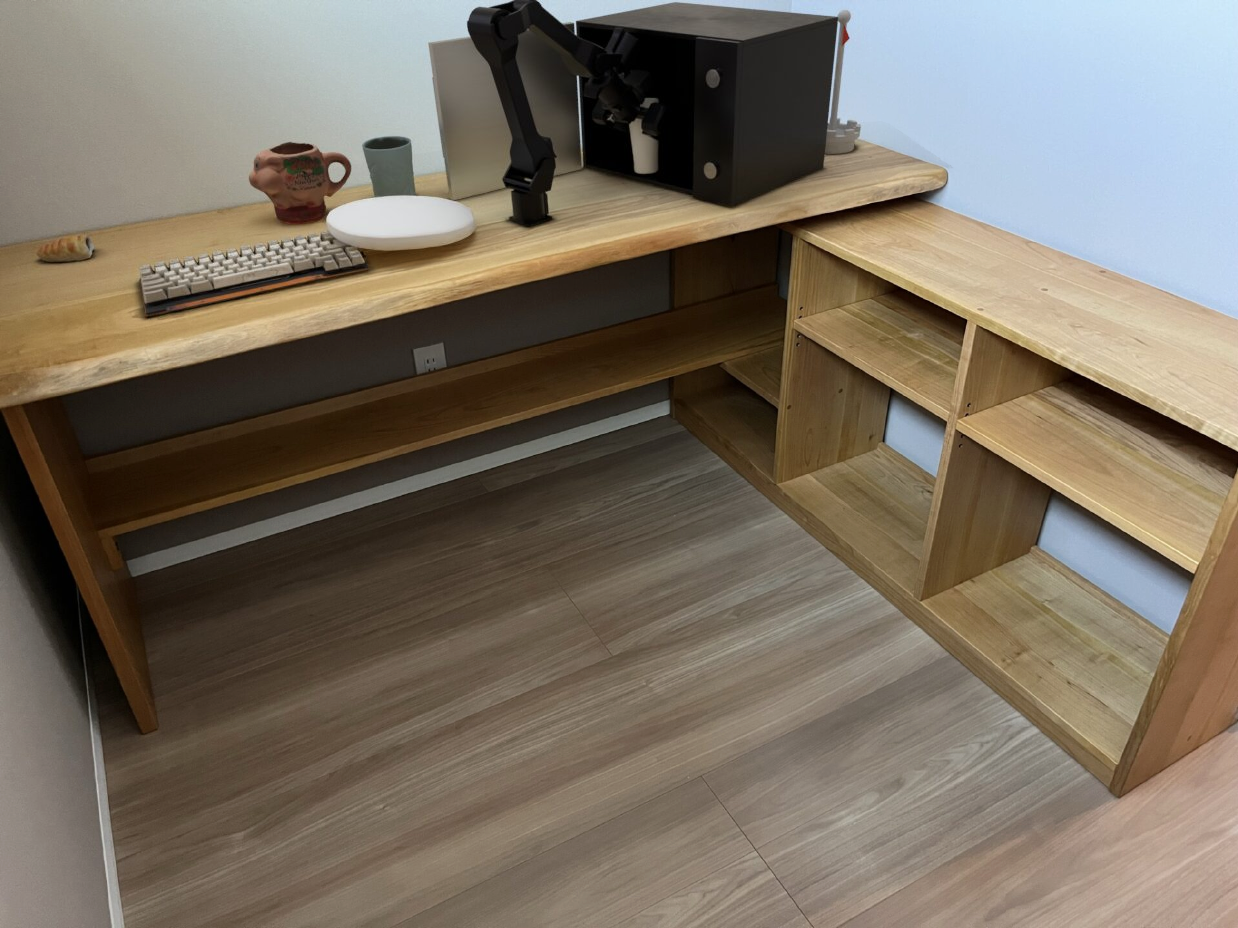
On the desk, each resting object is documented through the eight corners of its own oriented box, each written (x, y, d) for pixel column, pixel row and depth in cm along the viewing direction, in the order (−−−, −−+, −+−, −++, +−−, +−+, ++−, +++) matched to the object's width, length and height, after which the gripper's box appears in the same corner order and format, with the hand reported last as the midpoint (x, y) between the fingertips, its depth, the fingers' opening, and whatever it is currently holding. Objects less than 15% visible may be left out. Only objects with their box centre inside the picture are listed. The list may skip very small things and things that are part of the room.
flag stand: (796, 142, 220) (807, 7, 204) (848, 139, 221) (863, 4, 205) (811, 156, 210) (824, 15, 193) (865, 153, 211) (883, 12, 194)
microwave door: (437, 193, 195) (415, 39, 177) (564, 163, 211) (556, 19, 194) (453, 200, 190) (431, 43, 173) (581, 169, 206) (574, 23, 189)
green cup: (404, 189, 198) (395, 133, 191) (429, 199, 192) (420, 141, 185) (363, 200, 193) (352, 143, 186) (387, 210, 186) (377, 151, 180)
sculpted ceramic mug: (351, 199, 193) (338, 133, 185) (365, 215, 184) (352, 146, 176) (256, 216, 186) (238, 147, 178) (265, 233, 177) (247, 162, 169)
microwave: (728, 209, 181) (735, 42, 163) (575, 170, 206) (567, 22, 189) (823, 168, 202) (838, 17, 184) (674, 138, 227) (675, 2, 210)
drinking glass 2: (634, 170, 201) (630, 98, 194) (664, 169, 200) (661, 97, 193) (628, 175, 195) (624, 102, 188) (658, 174, 194) (656, 100, 187)
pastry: (36, 266, 165) (28, 247, 163) (43, 254, 171) (36, 235, 169) (92, 259, 168) (84, 239, 166) (97, 247, 173) (90, 228, 171)
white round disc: (419, 183, 184) (505, 212, 170) (419, 215, 188) (504, 246, 173) (296, 196, 165) (381, 230, 151) (298, 231, 168) (382, 267, 154)
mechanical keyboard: (146, 318, 145) (139, 299, 143) (138, 280, 159) (132, 261, 157) (375, 271, 159) (371, 253, 157) (349, 240, 173) (345, 223, 171)
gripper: (666, 63, 177) (699, 111, 190) (598, 53, 188) (634, 99, 201) (640, 112, 177) (675, 156, 190) (574, 99, 188) (611, 142, 201)
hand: (649, 137), depth 195 cm, fingers closed on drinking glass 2, 6 cm apart
